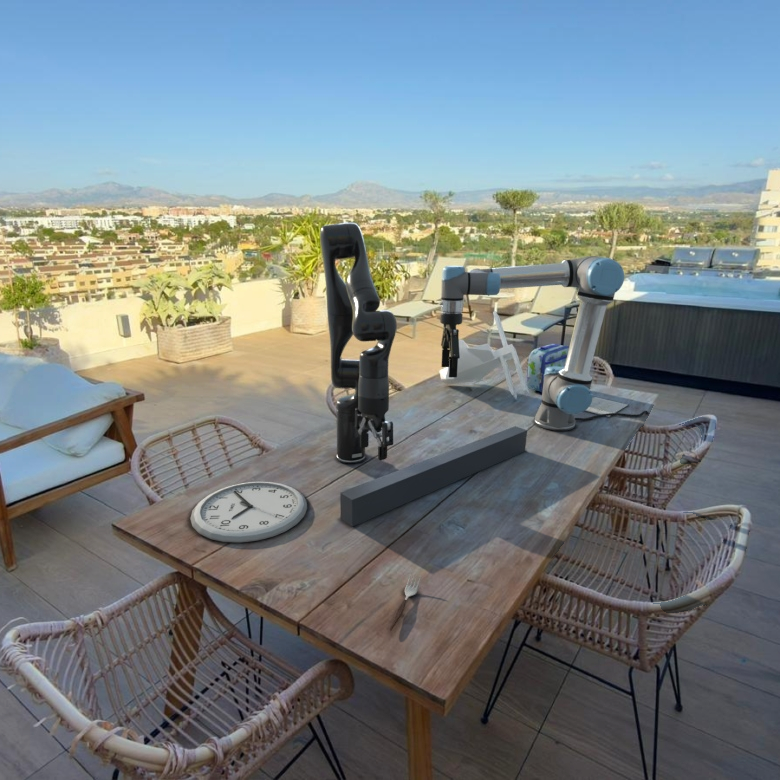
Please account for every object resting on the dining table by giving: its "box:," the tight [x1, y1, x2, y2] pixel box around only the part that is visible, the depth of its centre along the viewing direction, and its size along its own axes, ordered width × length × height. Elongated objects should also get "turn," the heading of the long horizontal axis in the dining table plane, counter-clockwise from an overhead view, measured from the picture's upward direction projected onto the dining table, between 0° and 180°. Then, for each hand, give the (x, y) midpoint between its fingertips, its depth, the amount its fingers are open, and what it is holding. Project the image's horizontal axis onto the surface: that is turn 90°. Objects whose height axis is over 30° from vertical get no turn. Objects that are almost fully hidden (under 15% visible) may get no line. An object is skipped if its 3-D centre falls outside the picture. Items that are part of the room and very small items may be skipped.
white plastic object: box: [438, 310, 531, 400], centre depth 245 cm, size 37×45×31 cm
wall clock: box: [190, 481, 308, 544], centre depth 139 cm, size 30×2×30 cm
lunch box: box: [526, 343, 570, 394], centre depth 248 cm, size 26×11×21 cm, turn 135°
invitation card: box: [584, 396, 629, 418], centre depth 226 cm, size 21×1×15 cm
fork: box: [389, 573, 422, 632], centre depth 105 cm, size 3×16×2 cm, turn 160°
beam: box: [339, 425, 528, 528], centre depth 157 cm, size 75×5×8 cm, turn 131°
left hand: (373, 453), depth 133 cm, fingers open, 8 cm apart
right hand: (448, 371), depth 186 cm, fingers open, 13 cm apart
